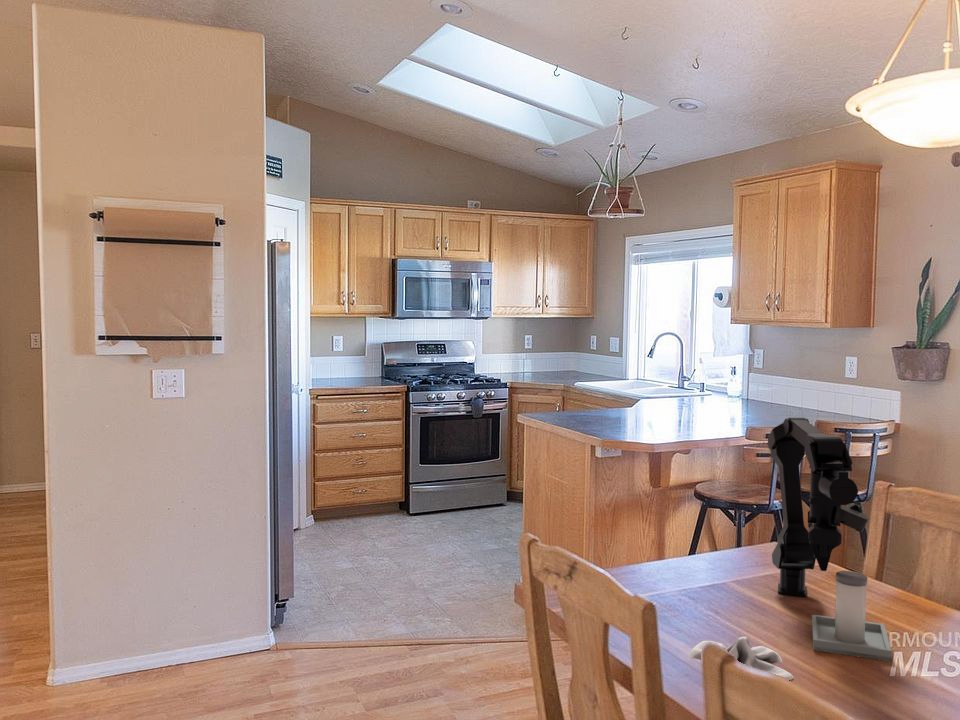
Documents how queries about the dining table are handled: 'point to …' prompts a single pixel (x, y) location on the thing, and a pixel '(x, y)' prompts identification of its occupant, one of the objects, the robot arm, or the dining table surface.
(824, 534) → the robot arm
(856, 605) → the shaker
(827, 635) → the tray
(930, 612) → the dining table surface
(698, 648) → the cloth
